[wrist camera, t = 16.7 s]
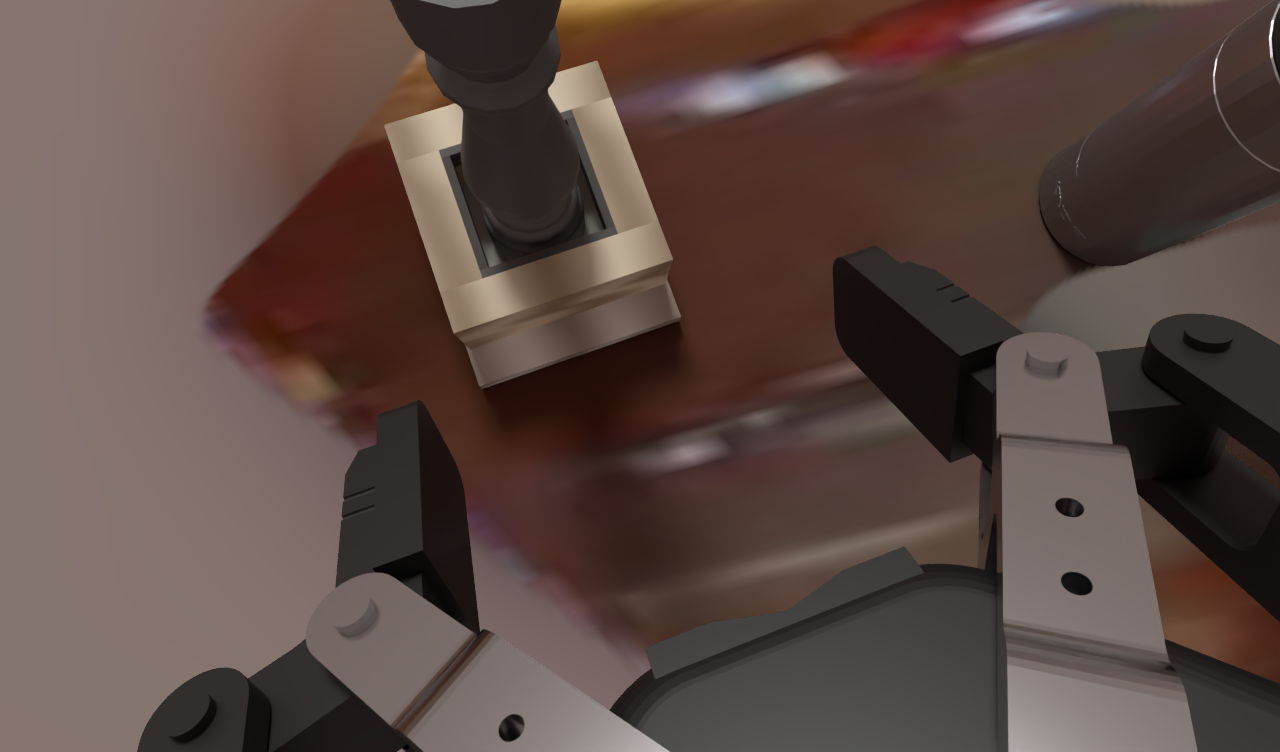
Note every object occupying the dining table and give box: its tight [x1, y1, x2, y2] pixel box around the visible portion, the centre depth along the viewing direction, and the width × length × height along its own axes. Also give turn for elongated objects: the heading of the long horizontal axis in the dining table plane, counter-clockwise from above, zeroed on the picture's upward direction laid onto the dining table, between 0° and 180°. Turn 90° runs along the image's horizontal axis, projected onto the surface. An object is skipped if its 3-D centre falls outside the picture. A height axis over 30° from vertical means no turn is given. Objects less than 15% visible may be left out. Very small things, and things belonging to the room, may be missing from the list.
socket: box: [384, 61, 681, 389], centre depth 44 cm, size 14×18×6 cm
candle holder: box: [390, 0, 585, 261], centre depth 33 cm, size 6×6×25 cm
